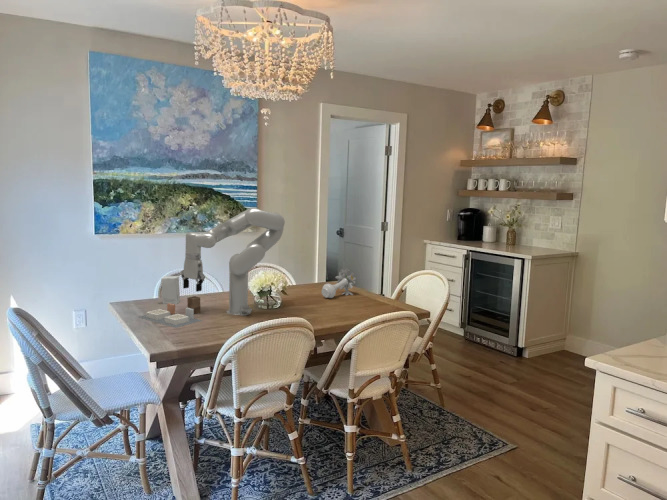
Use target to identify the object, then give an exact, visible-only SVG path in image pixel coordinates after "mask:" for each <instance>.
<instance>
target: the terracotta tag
mask: <svg viewBox="0 0 667 500" xmlns="http://www.w3.org/2000/svg"><path fill="white" fill-rule="evenodd" d="M166 305H167V306H166V307H167V309H166V311H169V312H170V314H172V315H174V314H175V313H176V304H171V303H168V304H166Z"/></svg>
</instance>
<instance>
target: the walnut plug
mask: <svg viewBox="0 0 667 500" xmlns="http://www.w3.org/2000/svg"><path fill="white" fill-rule="evenodd" d="M187 308H191V309H194V315H197V314H200V313H201V297H200V296H189V297H187Z"/></svg>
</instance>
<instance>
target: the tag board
mask: <svg viewBox="0 0 667 500" xmlns="http://www.w3.org/2000/svg"><path fill="white" fill-rule="evenodd" d="M138 318H140V319H143V320H147V321H150V322H152V323H153V322H154V323H156V324H161V325H165V326H168V327H171V328H174V329H177V328H180V327H185V326H187V325H192V324H195V323H199V322H202V321H203V320H202V319H199V318H194V319H192V320H191V319H189V317H188V316H186V314H185V315H184V314H179V313H176V312H175V314H174V315H172V314H170V312H169V311H167V310H164V309H161V308H158V309H154V310H149V311H146V313H145V315H144V314H143V315H139V316H138Z"/></svg>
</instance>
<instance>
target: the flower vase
mask: <svg viewBox="0 0 667 500" xmlns="http://www.w3.org/2000/svg"><path fill="white" fill-rule="evenodd" d="M351 270H352V268H351V269H349V268H348V267H345V268H344V269H339V272H338V275H336V276H335V277H334V278H335V279H336V280H337V281H336V283H335V284H331V283H325V284H324V285H323V286H322V288H321V295H322V297H324V298H326V299H327V298H328V299H333V298H334V297H335V296H336V292H337V290H338V289H339V290H343V289H344V292H342V293H341V295H345V296H349V295H351V296H354V294H353V292H350V291H349V290H350V289H353V285H355V284H356V281H355V280H356V279H357V278H356V276H354V275H355V274H354V271H352V272H351V273H350V272H349V271H351ZM348 272H349V273H350V274H349V273H348Z"/></svg>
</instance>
